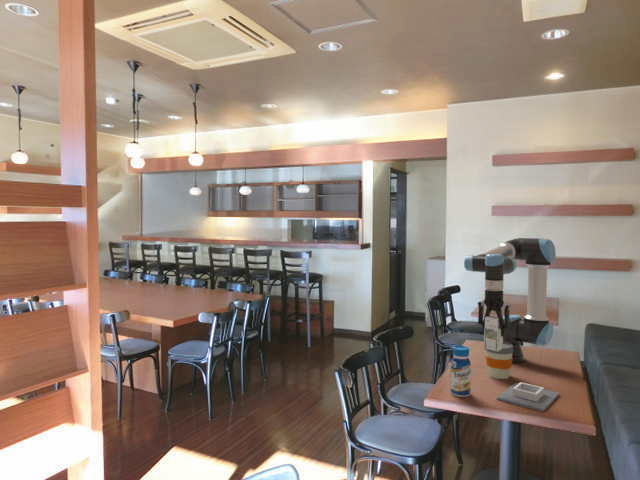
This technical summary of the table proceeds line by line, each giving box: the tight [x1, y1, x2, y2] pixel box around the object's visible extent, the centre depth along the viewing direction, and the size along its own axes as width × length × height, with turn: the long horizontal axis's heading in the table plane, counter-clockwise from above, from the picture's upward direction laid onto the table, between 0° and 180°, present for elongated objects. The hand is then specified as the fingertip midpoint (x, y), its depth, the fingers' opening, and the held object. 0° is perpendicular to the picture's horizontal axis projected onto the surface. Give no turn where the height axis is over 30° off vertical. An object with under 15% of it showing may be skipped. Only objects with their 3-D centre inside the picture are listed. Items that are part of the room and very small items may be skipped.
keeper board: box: [496, 381, 560, 413], centre depth 188 cm, size 22×18×4 cm
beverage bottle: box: [449, 345, 472, 398], centre depth 192 cm, size 8×8×20 cm
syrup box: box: [484, 314, 502, 352], centre depth 197 cm, size 6×6×14 cm
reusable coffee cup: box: [484, 342, 513, 380], centre depth 213 cm, size 13×12×15 cm
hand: (493, 341), depth 197 cm, fingers closed on syrup box, 6 cm apart
